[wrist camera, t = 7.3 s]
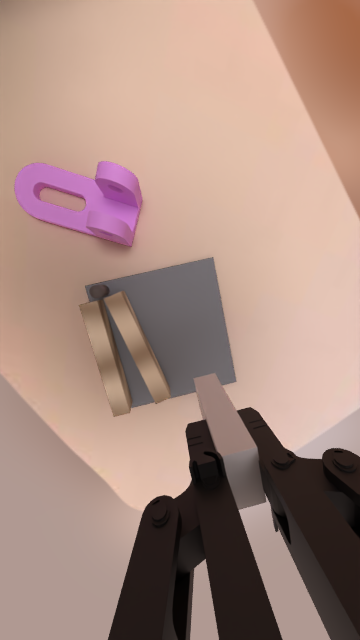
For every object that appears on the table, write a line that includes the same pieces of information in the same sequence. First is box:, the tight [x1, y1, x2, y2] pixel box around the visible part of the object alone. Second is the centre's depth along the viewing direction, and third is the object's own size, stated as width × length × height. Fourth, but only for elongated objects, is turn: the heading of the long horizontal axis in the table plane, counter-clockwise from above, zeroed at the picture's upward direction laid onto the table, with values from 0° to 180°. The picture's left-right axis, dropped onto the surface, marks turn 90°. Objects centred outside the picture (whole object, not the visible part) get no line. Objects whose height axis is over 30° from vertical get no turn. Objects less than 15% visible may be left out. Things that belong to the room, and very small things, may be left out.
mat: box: [85, 257, 236, 408], centre depth 29 cm, size 17×16×1 cm
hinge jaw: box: [104, 291, 171, 404], centre depth 27 cm, size 14×2×2 cm, turn 24°
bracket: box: [15, 161, 142, 247], centre depth 22 cm, size 13×6×7 cm, turn 75°
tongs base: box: [79, 285, 133, 417], centre depth 27 cm, size 16×3×3 cm, turn 13°
